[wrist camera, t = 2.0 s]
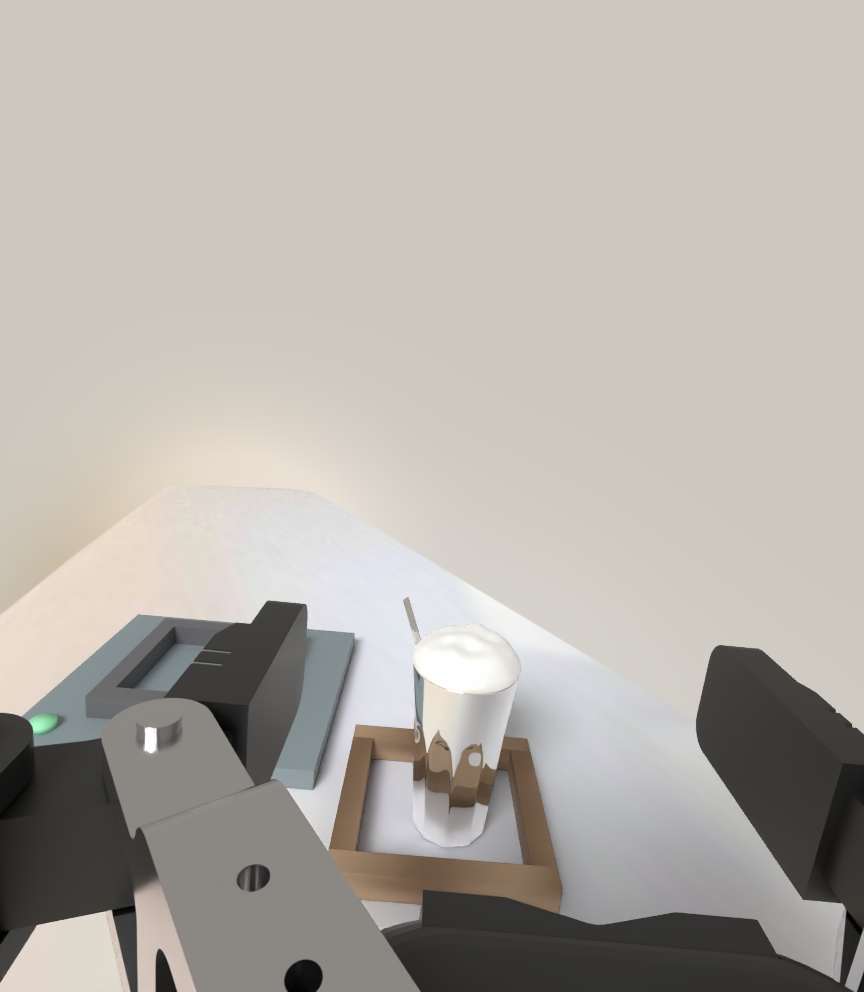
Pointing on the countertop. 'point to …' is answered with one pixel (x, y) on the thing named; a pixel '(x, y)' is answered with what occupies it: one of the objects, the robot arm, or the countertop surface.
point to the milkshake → (458, 726)
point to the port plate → (160, 663)
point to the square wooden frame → (416, 873)
